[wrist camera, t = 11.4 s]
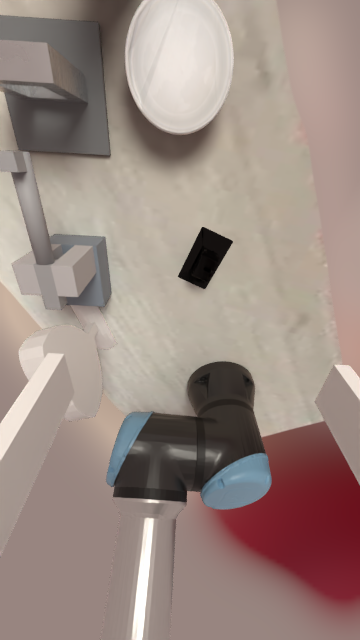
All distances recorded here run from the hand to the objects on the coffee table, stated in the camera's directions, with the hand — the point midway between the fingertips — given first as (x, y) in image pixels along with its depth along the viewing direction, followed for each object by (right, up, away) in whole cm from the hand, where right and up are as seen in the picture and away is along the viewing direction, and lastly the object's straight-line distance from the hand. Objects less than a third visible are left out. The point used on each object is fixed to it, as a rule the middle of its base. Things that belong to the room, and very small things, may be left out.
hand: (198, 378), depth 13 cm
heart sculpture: (-18, +2, +37) cm, 41 cm away
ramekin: (-1, +32, +17) cm, 36 cm away
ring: (-16, +31, +17) cm, 39 cm away
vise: (-17, +17, +27) cm, 36 cm away
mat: (-16, +31, +18) cm, 39 cm away
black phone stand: (+3, +13, +30) cm, 33 cm away
